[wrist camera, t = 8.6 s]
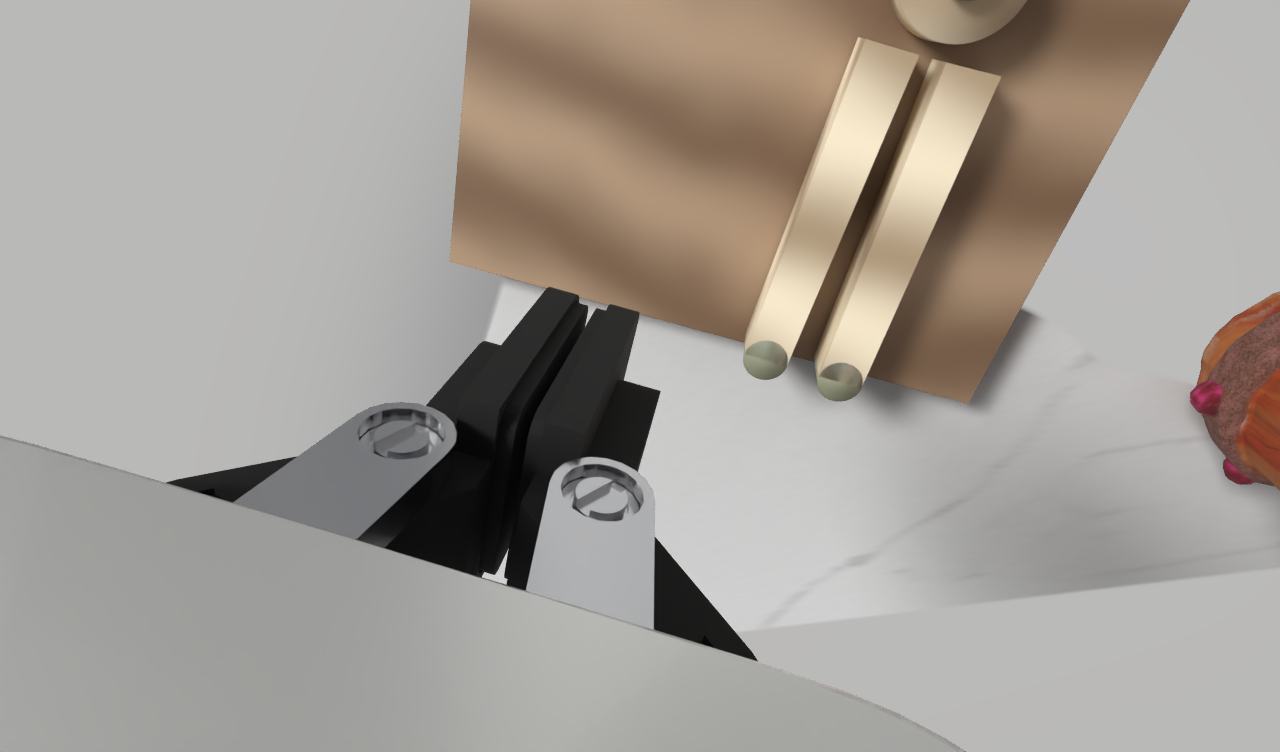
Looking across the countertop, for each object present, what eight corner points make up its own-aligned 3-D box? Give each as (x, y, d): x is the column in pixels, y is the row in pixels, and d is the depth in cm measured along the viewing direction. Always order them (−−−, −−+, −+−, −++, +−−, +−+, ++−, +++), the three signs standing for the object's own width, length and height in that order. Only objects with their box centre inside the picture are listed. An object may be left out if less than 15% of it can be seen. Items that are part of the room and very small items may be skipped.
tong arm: (916, -116, 22) (930, -129, 20) (1043, -78, 21) (1069, -87, 20) (739, 349, 30) (737, 372, 28) (829, 377, 30) (833, 402, 28)
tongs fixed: (939, -59, 22) (961, -69, 20) (1029, -37, 22) (1064, -44, 19) (782, 363, 30) (783, 396, 28) (848, 381, 30) (855, 416, 27)
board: (508, -199, 24) (488, -215, 22) (1177, -35, 23) (1211, -39, 21) (466, 248, 32) (449, 261, 31) (957, 382, 31) (968, 403, 30)
